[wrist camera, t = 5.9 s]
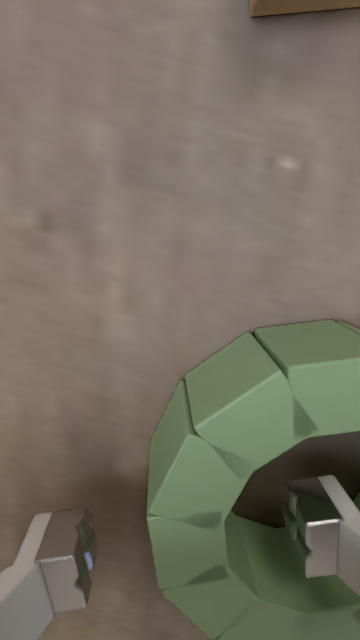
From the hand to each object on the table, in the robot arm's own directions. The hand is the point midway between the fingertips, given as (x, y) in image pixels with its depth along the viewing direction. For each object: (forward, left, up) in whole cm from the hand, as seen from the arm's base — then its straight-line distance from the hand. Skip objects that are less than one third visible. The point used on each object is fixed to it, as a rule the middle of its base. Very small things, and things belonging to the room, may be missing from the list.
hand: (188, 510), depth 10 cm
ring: (0, -4, -2) cm, 4 cm away
